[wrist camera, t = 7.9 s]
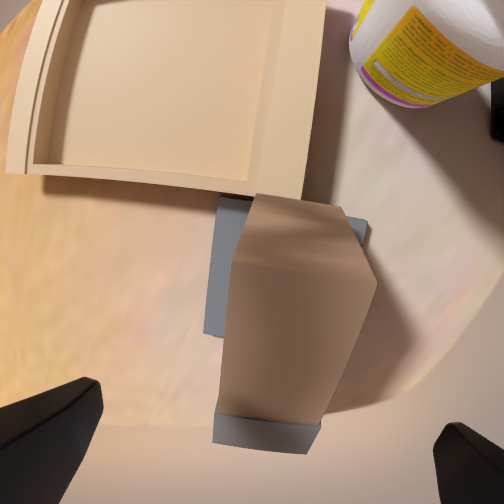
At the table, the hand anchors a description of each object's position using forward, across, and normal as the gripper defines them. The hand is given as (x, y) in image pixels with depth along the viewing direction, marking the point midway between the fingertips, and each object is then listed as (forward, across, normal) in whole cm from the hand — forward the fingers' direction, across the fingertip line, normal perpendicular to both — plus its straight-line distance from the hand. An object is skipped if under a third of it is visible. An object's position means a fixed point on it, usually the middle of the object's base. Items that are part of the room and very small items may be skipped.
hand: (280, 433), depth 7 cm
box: (+10, 0, 0) cm, 10 cm away
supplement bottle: (+12, -5, -14) cm, 19 cm away
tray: (+12, +9, -11) cm, 19 cm away
